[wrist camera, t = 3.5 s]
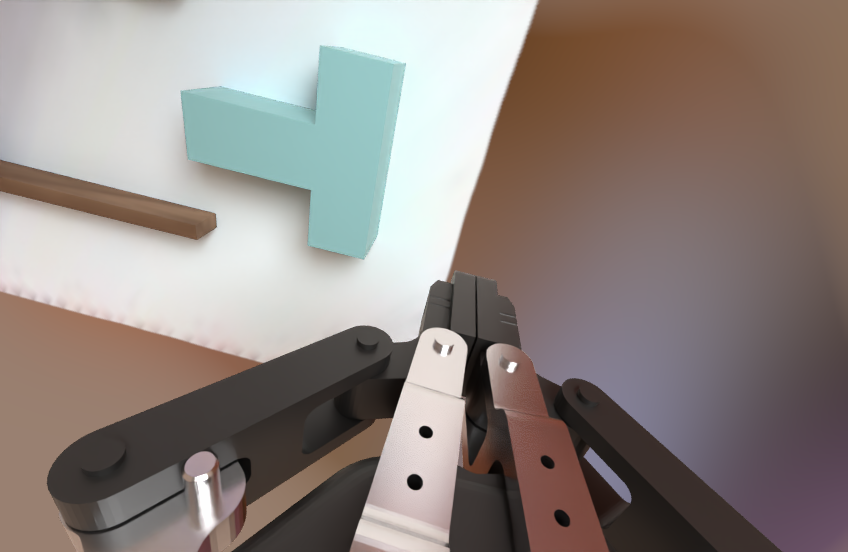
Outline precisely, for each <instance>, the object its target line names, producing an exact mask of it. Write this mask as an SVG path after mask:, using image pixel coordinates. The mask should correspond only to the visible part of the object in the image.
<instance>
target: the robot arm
mask: <svg viewBox="0 0 848 552" xmlns="http://www.w3.org/2000/svg"><path fill="white" fill-rule="evenodd" d="M461 396H464V397H466V404H465V400H464V399H463V398H461ZM382 418H393V420H392V423H391V427H390V430H389V433H388V436H387V439H386V442H385V445H384V448H383V451H382V455H381V456H379V457H372V458H368V459H364V460H360V461H358V462H355V463H353V464H350V465H349V466H347V467H345V468H343V469H341V470H340V471H338V472H337V473H335V474H334V475H333V476H332V477H330V478H329V479H327V480H326V481H325V482H323V483H322V484H321V485H319V486H318V487H317V488H315V489H314V490H313V491H311V492H310V493H309V494H307V495H306V496H305V497H303V498H302V499H301V500H300V501H298V502H297V503H295V504H294V505H293V506H291V507H290V508H289V509H288V510H286V511H285V512H283V513H282V514H281V515H279V516H278V517H277V518H275V520H273V521H272V522H270V523H269V524H268V525H266V526H265V527H264V528H262V529H261V530H260V531H258V532H257V533H256V534H254V535H253V536H252V537H250V538H249V539H248V540H246V541H245V542H244V543H242V544H241V545H240V546H238V547H237V548H236V549H234V550H233V551H232V552H782V551H781V550H780V549H779V548H777V547H776V546H775V545H774V544H773V543H772V542H771V541H770V540H769V539H767V538H766V537H765V536H764V535H763V534H762V533H761V532H759V530H757V529H756V528H755V527H754V526H753V525H752V524H751V523H749V522H748V521H747V520H746V519H745V518H744V517H743V516H742V515H741V514H740V513H738V512H737V511H736V510H735V509H734V508H733V507H732V506H731V505H729V504H728V503H727V502H726V501H725V500H724V499H723V498H722V497H721V496H719V495H718V494H717V493H716V492H715V491H714V490H713V489H711V488H710V487H709V486H708V485H707V484H706V483H705V482H704V481H703V480H702V479H700V478H699V477H698V476H697V475H696V474H695V473H694V472H692V471H691V470H690V469H689V468H688V467H687V466H686V465H685V464H683V462H681V461H680V460H679V459H678V458H677V457H676V456H675V455H673V454H672V453H671V452H670V451H669V450H668V449H667V448H666V447H664V446H663V445H662V444H661V443H660V442H659V441H658V440H657V439H656V438H654V437H653V436H652V435H651V434H650V433H649V432H648V431H646V429H644V428H643V427H642V426H641V425H640V424H639V423H638V422H637V421H636V420H634V419H633V418H632V417H631V416H630V415H629V414H627V412H625V411H624V410H623V409H622V408H621V407H620V406H619V405H618V404H616V403H615V402H614V401H613V400H612V399H611V398H610V397H609V396H608V395H606V394H605V393H604V392H603V391H602V390H601V389H599V388H598V387H597V386H595V385H593V384H592V383H590V382H587V381H585V380H582V379H576V378H574V379H573V378H572V379H568V380H566V381H565V382H564V383H563V384H562V386H559V385H557V384H555V383H553V382H551V381H549V380H547V379H545V378H542V377H541V376H539V375H538V374H536V371H535V369H534V365H533V362H532V361H531V359H530V358H529V356H528V355H527V354H526V353H524V352H523V351H522V350H521V344H520V338H519V332H518V326H517V320H516V314H515V308H514V306H513V305H512V303H511V302H510V300H509V299H508V298H507V297H504V296H500V295H498V292H497V283H496V281H495V280H491V279H488V278H483V277H480V276H475V275H471V274H467V273H463V272H459V271H455V272H454V274H453V277H452V280H451V283H448V282H444V281H440V280H438V281H436V282H435V283H434V284H433V285H432V286H431V287H430V291H429V295H428V298H427V302H426V306H425V309H424V313H423V317H422V321H421V326H420V331H419V336H418V337H417V338H416V339H414V340H412V341H409V342H401V343H393V342H392V340H391V338H390V336H389V335H388V334H387V333H385V332H384V331H382V330H381V329H378V328H376V327H372V326H356V327H353V328H350V329H348V330H345V331H343V332H340V333H338V334H335V335H333V336H330V337H328V338H325V339H323V340H320V341H318V342H315V343H313V344H310V345H308V346H305V347H303V348H300V349H298V350H295V351H293V352H290V353H288V354H285V355H283V356H280V357H278V358H275V359H273V360H270V361H268V362H265V363H263V364H261V365H258V366H256V367H253V368H251V369H248V370H246V371H243V372H241V373H238V374H236V375H233V376H231V377H228V378H226V379H223V380H221V381H218V382H216V383H213V384H211V385H208V386H206V387H203V388H201V389H198V390H196V391H193V392H191V393H189V394H186V395H183V396H181V397H178V398H176V399H173V400H171V401H169V402H166V403H164V404H161V405H159V406H156V407H154V408H151V409H149V410H146V411H144V412H141V413H139V414H136V415H134V416H131V417H129V418H126V419H124V420H121V421H119V422H116V423H114V424H112V425H109V426H106V427H104V428H102V429H99V430H96V431H94V432H92V433H90V434H88V435H86V436H84V437H82V438H80V439H79V440H77V441H76V442H74V443H73V444H71V445H70V446H69V447H68V448H67V449H65V450H64V451H63V452H62V453H61V454H60V456H58V458H57V459H56V460H55V462H54V463H53V465H52V467H51V469H50V471H49V474H48V477H47V485H48V490H49V491H50V494H51V495H52V498H53V500H54V501H55V503H56V505H57V507H58V509H59V517H60V521H61V523H62V525H63V526H64V529H65V530H66V533H67V534H68V536H69V538H70V540H71V542H72V544H73V546H74V548H75V550H76V552H222V551H224V550H225V549H226V548H227V547H228V546H229V545H230V544H231V543H232V542H233V541H234V540H235V539H236V538H237V536H238V535H239V533H240V532H241V530H242V528H243V526H244V523H245V519H246V514H247V506H248V505H249V504H251V503H253V502H254V501H256V500H257V499H259V498H260V497H262V496H263V495H265V494H266V493H268V492H270V491H271V490H273V489H274V488H276V487H277V486H279V485H280V484H282V483H283V482H285V481H287V480H288V479H290V478H291V477H293V476H294V475H296V474H297V473H299V472H300V471H302V470H303V469H305V468H306V467H308V466H310V465H311V464H313V463H314V462H316V461H317V460H319V459H320V458H322V457H323V456H325V455H327V454H328V453H329V452H331V451H333V450H334V449H336V448H337V447H339V446H341V445H342V444H344V443H345V442H347V441H348V440H350V439H351V438H353V437H354V436H356V435H357V434H359V433H361V432H362V431H364V430H365V429H367V428H368V427H369V426H371V425H372V424H373V423H374V421H375V420H376V419H382ZM461 436H462V455H463V468H462V467H460V466H458V465H457V463H458V456H459V448H460V439H461ZM590 447H591V448H592V449H593V450H594V451H595V453H596V454H597V455H598V456H599V457H600V458H601V459H602V460H603V461H604V462H605V463H606V464H607V465H608V466H609V467H610V468H611V469H612V470H613V471H614V472H615V473H616V474H617V475H618V477H619V478H620V479H621V480H622V481H623V482H624V483H625V484H626V485H627V487H628V489H629V491H630V493H631V498H632V500H631V504H630V503H628V502H626V501H625V500H623V499H622V498H621V497H620V496H619V495H618V494H617V492H616V491H615V490H614V489H613V488H612V487H611V486H610V485H609V484H608V483H607V482H606V481H605V479H604V478H603V477H602V476H601V475H600V474H599V473H598V472H597V471H596V470H595V469H594V468H593V466H592V465H591V464H590V463H589V462H588V461H587V460H586V459H585V458H584V455H585V454H586V452H587V451H588V450H589V448H590Z"/></svg>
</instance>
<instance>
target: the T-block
mask: <svg viewBox="0 0 848 552" xmlns="http://www.w3.org/2000/svg"><path fill="white" fill-rule="evenodd" d="M405 65H406V63H402V62H398V61H394V60H390V59H386V58H382V57H378V56H374V55H370V54H366V53H362V52H359V51H355V50H351V49H347V48H342V47H331V46H320V52H319V69H318V85H317V101H316V110H312V109H308V108H304V107H300V106H296V105H292V104H288V103H284V102H280V101H276V100H272V99H268V98H264V97H260V96H256V95H252V94H248V93H244V92H240V91H237V90H233V89H229V88H225V87H211V88H202V89H193V90H183V91H181V100H182V109H183V119H184V128H185V137H186V146H187V156H188V160H192V161H196V162H200V163H204V164H208V165H212V166H216V167H220V168H224V169H228V170H232V171H236V172H240V173H244V174H248V175H252V176H256V177H260V178H264V179H268V180H272V181H276V182H280V183H284V184H288V185H292V186H296V187H300V188H304V189H308V190H311V198H310V214H309V231H308V246H312V247H316V248H320V249H324V250H328V251H332V252H336V253H340V254H344V255H348V256H352V257H356V258H360V259H365V257H366V255H367V253H368V252H369V250H370V248H371V246H372V244H373V243H374V241H375V239H376V237H377V234H378V228H379V222H380V216H381V210H382V204H383V198H384V192H385V186H386V180H387V174H388V168H389V162H390V155H391V149H392V143H393V137H394V131H395V125H396V119H397V113H398V107H399V101H400V95H401V89H402V83H403V77H404V71H405Z"/></svg>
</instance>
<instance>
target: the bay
mask: <svg viewBox="0 0 848 552" xmlns="http://www.w3.org/2000/svg"><path fill="white" fill-rule="evenodd" d="M0 191H2V192H6V193H10V194H14V195H18V196H22V197H26V198H31V199H35V200H39V201H43V202H47V203H51V204H55V205H59V206H63V207H67V208H71V209H75V210H79V211H83V212H87V213H91V214H95V215H99V216H103V217H107V218H111V219H115V220H119V221H123V222H127V223H131V224H135V225H139V226H143V227H147V228H151V229H155V230H159V231H163V232H168V233H172V234H176V235H180V236H184V237H188V238H192V239H196V240H198V239H199V238H201V237H202V236H204V235H205V234H207V233H208V232H210V231H211V230H213V229H215V228H216V227H217V226H216V214H215V213H211V212H207V211H203V210H199V209H195V208H191V207H187V206H183V205H179V204H175V203H171V202H167V201H163V200H159V199H155V198H151V197H147V196H143V195H139V194H135V193H131V192H127V191H123V190H119V189H115V188H111V187H107V186H103V185H99V184H95V183H91V182H87V181H83V180H79V179H75V178H71V177H67V176H63V175H59V174H55V173H51V172H46V171H42V170H38V169H34V168H30V167H26V166H22V165H18V164H14V163H10V162H6V161H2V160H0Z"/></svg>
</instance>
